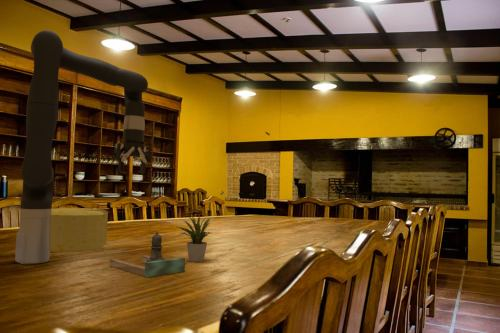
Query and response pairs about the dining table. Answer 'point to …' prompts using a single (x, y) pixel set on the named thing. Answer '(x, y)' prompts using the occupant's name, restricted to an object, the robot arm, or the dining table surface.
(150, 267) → the guide channel
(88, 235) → the cheese
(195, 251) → the house plant
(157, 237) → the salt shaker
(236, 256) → the dining table surface
